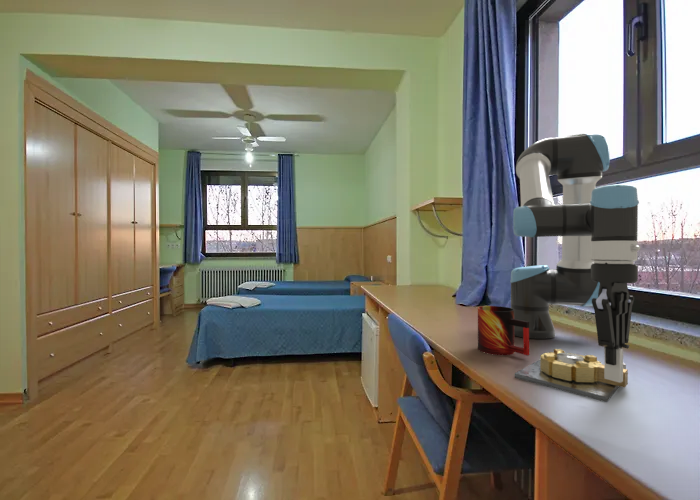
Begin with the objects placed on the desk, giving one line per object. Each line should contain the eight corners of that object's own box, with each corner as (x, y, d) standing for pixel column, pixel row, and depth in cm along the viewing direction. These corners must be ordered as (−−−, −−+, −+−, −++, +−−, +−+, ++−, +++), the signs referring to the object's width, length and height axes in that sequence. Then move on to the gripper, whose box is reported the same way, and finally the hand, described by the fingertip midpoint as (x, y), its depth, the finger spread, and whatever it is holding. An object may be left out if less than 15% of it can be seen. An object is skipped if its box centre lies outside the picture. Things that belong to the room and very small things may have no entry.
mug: (529, 360, 91) (528, 314, 91) (474, 352, 98) (474, 309, 98) (532, 351, 99) (532, 309, 99) (481, 344, 106) (481, 305, 106)
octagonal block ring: (534, 372, 78) (534, 355, 78) (551, 361, 85) (551, 346, 85) (620, 393, 66) (619, 373, 66) (632, 379, 74) (632, 361, 74)
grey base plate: (543, 361, 90) (543, 342, 90) (630, 380, 76) (630, 357, 76) (514, 377, 78) (514, 355, 78) (611, 403, 65) (611, 376, 65)
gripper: (621, 263, 64) (621, 392, 63) (649, 262, 70) (650, 379, 70) (577, 262, 70) (576, 379, 70) (607, 261, 77) (607, 369, 77)
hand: (613, 379), depth 70 cm, fingers closed
